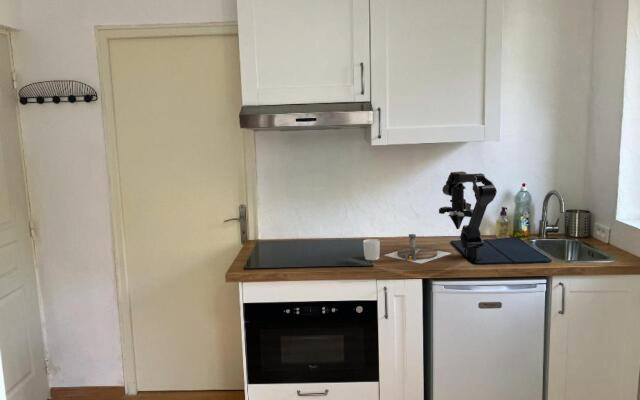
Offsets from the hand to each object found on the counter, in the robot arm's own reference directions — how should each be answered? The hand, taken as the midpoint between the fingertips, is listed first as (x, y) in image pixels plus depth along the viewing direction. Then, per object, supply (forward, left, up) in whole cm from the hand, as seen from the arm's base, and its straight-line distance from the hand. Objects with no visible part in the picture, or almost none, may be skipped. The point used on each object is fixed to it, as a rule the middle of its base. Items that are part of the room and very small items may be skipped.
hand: (458, 229), depth 246 cm
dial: (+10, +19, -10) cm, 24 cm away
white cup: (+22, +38, -12) cm, 46 cm away
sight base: (+10, +19, -12) cm, 25 cm away
